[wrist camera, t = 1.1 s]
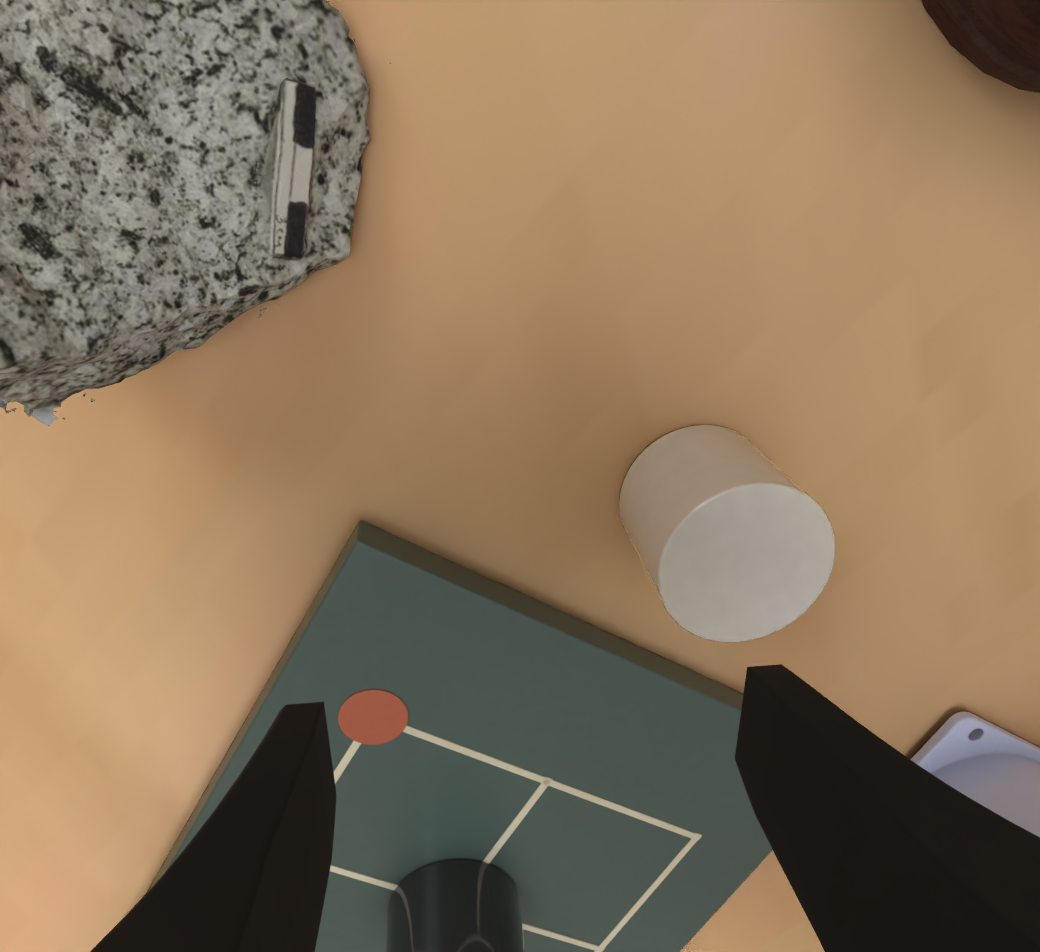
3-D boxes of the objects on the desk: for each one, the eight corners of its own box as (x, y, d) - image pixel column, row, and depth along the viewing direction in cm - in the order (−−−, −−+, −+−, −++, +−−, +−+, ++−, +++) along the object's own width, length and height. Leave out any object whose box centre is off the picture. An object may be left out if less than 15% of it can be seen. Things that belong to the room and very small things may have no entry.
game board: (836, 735, 27) (855, 762, 25) (511, 1101, 33) (514, 1136, 32) (360, 518, 21) (356, 540, 20) (80, 1007, 27) (66, 1044, 26)
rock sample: (487, 361, 16) (-22, 337, 9) (281, 423, 21) (-144, 436, 14) (416, -136, 16) (-134, -519, 9) (229, 45, 21) (-215, -119, 14)
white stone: (798, 467, 22) (872, 532, 18) (708, 585, 23) (761, 667, 20) (677, 396, 21) (732, 451, 17) (589, 525, 22) (622, 601, 18)
